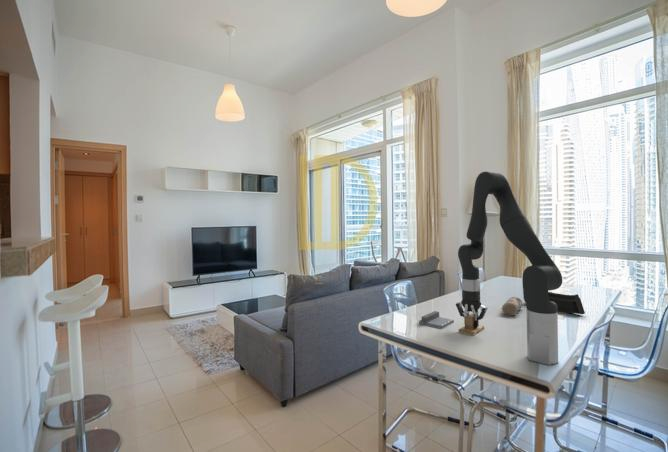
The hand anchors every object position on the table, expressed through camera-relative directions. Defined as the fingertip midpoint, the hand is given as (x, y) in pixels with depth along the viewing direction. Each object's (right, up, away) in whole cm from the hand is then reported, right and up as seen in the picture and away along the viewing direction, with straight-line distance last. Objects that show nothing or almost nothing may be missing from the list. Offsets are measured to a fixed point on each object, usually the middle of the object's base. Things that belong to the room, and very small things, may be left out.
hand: (471, 327), depth 144 cm
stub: (0, -2, 0) cm, 2 cm away
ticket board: (-12, -2, +12) cm, 17 cm away
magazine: (+57, 0, +31) cm, 65 cm away
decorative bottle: (+36, -1, +30) cm, 47 cm away
